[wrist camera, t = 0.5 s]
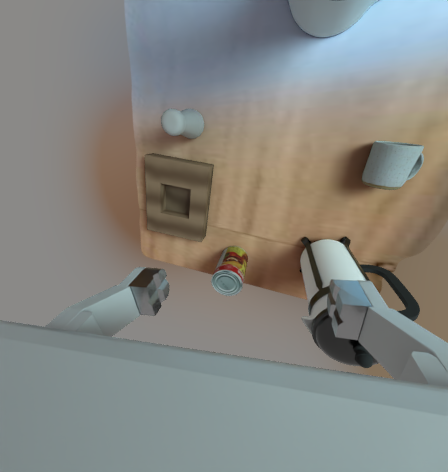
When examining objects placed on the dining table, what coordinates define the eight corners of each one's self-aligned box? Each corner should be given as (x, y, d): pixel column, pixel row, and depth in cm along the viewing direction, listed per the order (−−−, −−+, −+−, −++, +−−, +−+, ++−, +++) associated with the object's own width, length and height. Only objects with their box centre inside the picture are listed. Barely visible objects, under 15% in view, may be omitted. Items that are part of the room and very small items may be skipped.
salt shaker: (184, 138, 50) (157, 140, 38) (181, 110, 47) (152, 103, 36) (207, 138, 49) (187, 140, 37) (206, 109, 46) (184, 102, 35)
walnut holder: (153, 153, 53) (144, 154, 49) (213, 164, 51) (209, 167, 47) (154, 223, 62) (147, 229, 59) (205, 235, 60) (201, 242, 57)
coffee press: (318, 288, 60) (353, 409, 34) (281, 252, 58) (288, 353, 31) (379, 256, 52) (484, 381, 26) (339, 211, 50) (413, 302, 23)
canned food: (244, 271, 63) (238, 299, 53) (219, 264, 64) (208, 290, 53) (251, 250, 59) (246, 275, 49) (224, 242, 60) (214, 266, 50)
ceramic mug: (354, 180, 46) (368, 189, 39) (367, 140, 42) (386, 142, 36) (407, 185, 44) (432, 194, 38) (426, 143, 41) (457, 145, 34)
